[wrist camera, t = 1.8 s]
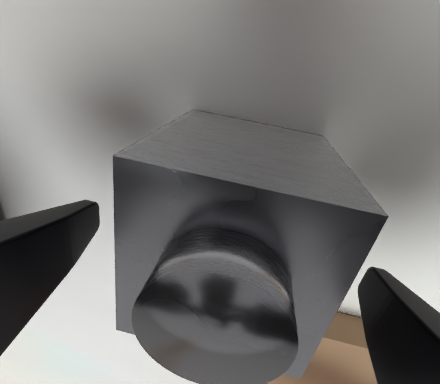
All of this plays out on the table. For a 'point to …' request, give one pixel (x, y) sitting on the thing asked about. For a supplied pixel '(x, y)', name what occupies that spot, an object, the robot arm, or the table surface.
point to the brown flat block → (338, 356)
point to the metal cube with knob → (235, 246)
